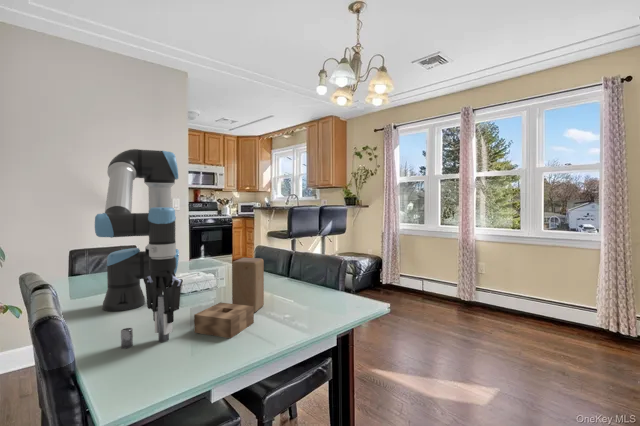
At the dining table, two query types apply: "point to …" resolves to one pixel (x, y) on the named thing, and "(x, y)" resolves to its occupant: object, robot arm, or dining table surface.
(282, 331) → the dining table surface
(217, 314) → the socket block
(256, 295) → the wooden block
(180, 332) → the dining table surface
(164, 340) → the long pin
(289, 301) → the dining table surface
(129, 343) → the short pin
